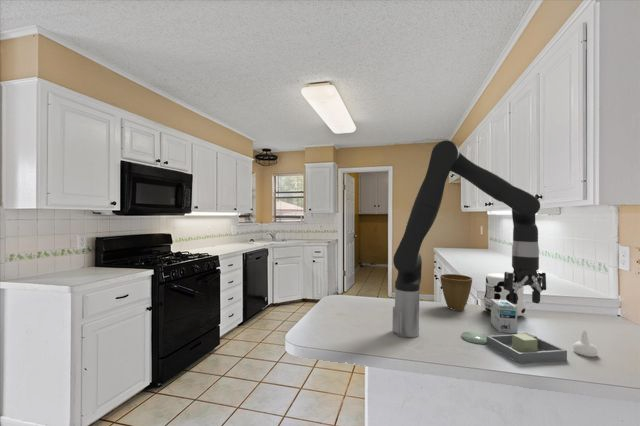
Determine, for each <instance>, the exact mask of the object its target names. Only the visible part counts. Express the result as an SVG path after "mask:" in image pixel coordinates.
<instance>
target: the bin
mask: <svg viewBox="0 0 640 426" xmlns="http://www.w3.org/2000/svg"><path fill="white" fill-rule="evenodd" d="M537 340H538V341H537V348H538V349H541V351H538V350H537V352H522V353H520V352H518V351H516V350H514V349H512V347H510V346H508V345H512V334H498V335H496V334H494V335H487V344H486V345H487V346H489V347H490V348H492V349H494V350H495V351H498V352H499V353H501V354H502V355H504V356H506V357H508V358H509V359H511V360H513V361H514V362H516V363H518V364H529V363H530V364H532V363H543V362H544V363H545V362H557V361H558V362H559V361H568V350H567V349H564V348H562V347H560V346H557V345H556V344H553V343H551V342H548V341H546V340H544V339H541V338H539V337H537Z"/></svg>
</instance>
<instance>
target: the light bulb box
mask: <svg viewBox="0 0 640 426" xmlns="http://www.w3.org/2000/svg"><path fill="white" fill-rule="evenodd" d="M490 324H491V325H492V326H493V327H494V328H495V329H496V330H497V331H498V332H499V333H509V334H518V317H517V306H515V305H513V304H512V303H510V302H509V301H507V300H497V299H491V313H490Z"/></svg>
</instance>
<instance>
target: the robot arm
mask: <svg viewBox="0 0 640 426" xmlns="http://www.w3.org/2000/svg"><path fill="white" fill-rule="evenodd" d="M427 166H428V167H427V170H426V173H425V177H424V179H423V180H422V183H421V185H420V187H419V190H418V192H417V194H416V197H415V199H414V201H413V205H412V207H411V211H410V213H409V216H408V220H407V223H406V226H405V229H404V233H403V236H402V238H401V240H400V242H399V244H398V246H397V248H396V251H395V253H394V255H393V260H392V261H393V262H392V263H393V266H394V268H395V270H397V276H396V280H395V281H394V306H393V307H392V332H393V333H395V335H397V336H398V337H403V338H416V337H418V336H419V334H420V291H421V289H420V285H421V281H422V267H423V266H422V265H423V262H422V259H423V258H422V256H421V253H420V251H421V248H422V247H421V246H422V244H423V241H424V239H425V237H426V236H427V234H428V233H429V231H430V229H431V228H432V227H433V225H434V222H435V221H436V218H437V216H438V213H439V210H440V208H441V204H442V200H443V196H444V191H445V186H446V182H447V179H448V177H449V174H450V172H452V173H454V174H456V175H458V176H459V177H461V178H463V179H465V180H466V181H467V182H469V183H470V184H472V185H473V186H475V187H476V188H478V189H479V190H480V191H482V192H483V193H485V194H486V195H488V196H489V197H491V198H493V199H494V200H496V201H497V202H501V203H502V204H505V205H506V206H508V207H510V208H511V217H512V225H513V230H512V231H513V232H512V245H511V246H512V247H511V267H512V269H513V271H512V272H509V271H505V272H504V289H505V290H508V291H509V300H510V302H511V303H512V304H517V291H518V290H519V288H521V287H522V286H523V287H524V286H525V287H526V286H529V287H530V288H531V290H532V291H531V292H532V293H531V294H532V295H531V302H532V303H534V304H540V302H541V293H542V291H546V290H547V274H546V272H544V271H538V270H539V269H540V264H539V263H540V252H539V251H540V247H539V228H538V226H537V224H536V214H538V212H539V211H540V209H541V203H540V200H539V199H538V198H537V197H536V196H534V195H533V194H531V193H530V192H528V191H525V190H524V189H521V188H519V187H517V186H515V185H513V184H512V183H510V182H509V181H507V180H506V179H505V178H502V177H501V176H499V175H497V174H496V173H495V172H492V171H490V170H488V169H486V168H484V167H482V166H481V165H480V166H479V165H477V164H476V163H474V162H473V161H471V160H469V158H467V157H466V156H464V154H462V153H461V152H460V150H459V148H458V146H457V145H456V143H454V142H453V141H452V140H448V139H446V140H442V141H439V142H438V143H436V144H435V145H434V146H433V147H432V150H431V154H430V157H429V162H428V165H427ZM516 282H517V283H518V284H517V283H516ZM514 287H515V288H514Z"/></svg>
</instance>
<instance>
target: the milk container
mask: <svg viewBox="0 0 640 426" xmlns="http://www.w3.org/2000/svg"><path fill="white" fill-rule="evenodd" d="M516 283H517V282H516ZM517 284H518V283H517ZM514 288H515V287H514ZM524 289H525V288H524V286H522V287H521V288H519V290H518V291H517V304H513V305H515V306H517V318H519V317H520V318H521V317H523V316H524V315H525V313H526V301H525V298H524ZM491 299H497V300H507V301H509V302H510V300H509V291H508V290H505V289H504V274H503V273H487V274H486V276H485V294H484V295H483V301H482V302H483V308H484V310H485V311H487V312H488V313H490V314H491ZM510 303H511V302H510Z"/></svg>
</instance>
